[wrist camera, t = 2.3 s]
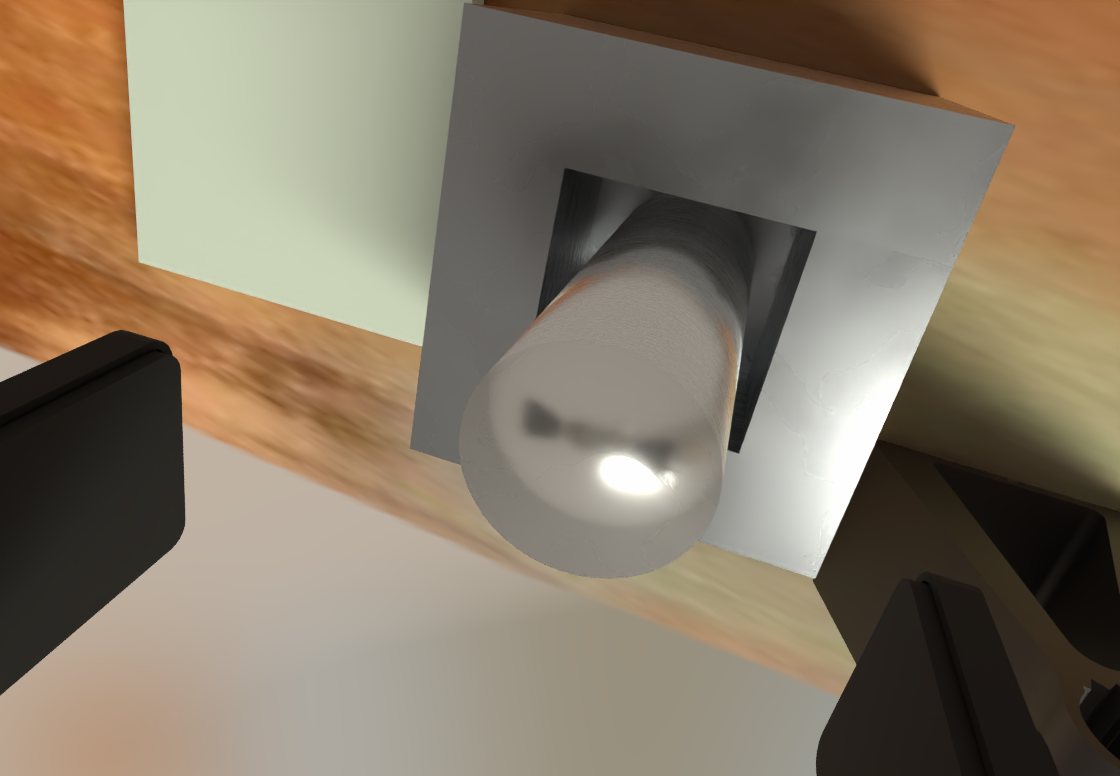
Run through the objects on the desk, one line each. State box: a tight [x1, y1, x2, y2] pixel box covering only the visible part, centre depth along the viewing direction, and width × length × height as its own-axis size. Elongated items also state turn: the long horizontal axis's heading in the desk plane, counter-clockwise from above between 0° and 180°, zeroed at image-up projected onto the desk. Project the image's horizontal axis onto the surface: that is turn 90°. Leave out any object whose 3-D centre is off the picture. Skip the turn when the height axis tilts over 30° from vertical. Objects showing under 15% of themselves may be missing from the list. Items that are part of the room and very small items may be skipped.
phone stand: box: [813, 441, 1120, 776], centre depth 21 cm, size 9×6×12 cm, turn 77°
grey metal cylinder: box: [459, 193, 755, 579], centre depth 17 cm, size 4×4×12 cm
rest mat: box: [123, 0, 484, 346], centre depth 26 cm, size 12×12×1 cm
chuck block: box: [410, 3, 1015, 578], centre depth 21 cm, size 11×11×8 cm
